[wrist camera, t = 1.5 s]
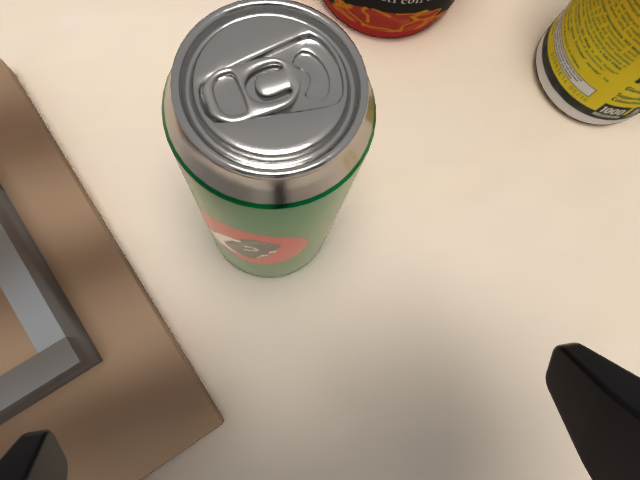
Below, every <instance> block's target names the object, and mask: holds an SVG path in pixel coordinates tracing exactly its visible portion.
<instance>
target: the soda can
mask: <svg viewBox="0 0 640 480" xmlns="http://www.w3.org/2000/svg"><path fill="white" fill-rule="evenodd" d="M162 118H163V126H164V130H165V134H166V137H167V141H168V143H169V145H170V147H171V149H172V152H173V154H174V156H175V158H176V160H177V162H178V164H179V166H180V169H181V171H182V173H183V175H184V177H185V179H186V181H187V183H188V185H189V188H190V190H191V192H192V194H193V196H194V198H195V200H196V202H197V204H198V207H199V209H200V211H201V213H202V215H203V217H204V219H205V221H206V223H207V226H208V228H209V230H210V232H211V234H212V236H213V238H214V240H215V242H216V245H217V247H218V248H219V250H220V251H221V253H222V254H223V255H224V256H225V258H226V259H227V260H228V261H229V262H231V263H232V264H233V265H234V266H236V267H237V268H239V269H241V270H243V271H245V272H247V273H250V274H253V275H257V276H263V277H276V276H283V275H286V274H290V273H292V272H294V271H296V270H299V269H300V268H302V267H303V266H305V265H306V264H307V263H309V262H310V261H311V260H312V259H313V258H314V257H315V255H316V254H317V253H318V251H319V250H320V248H321V246H322V244H323V242H324V240H325V238H326V236H327V234H328V232H329V230H330V228H331V226H332V224H333V222H334V220H335V218H336V216H337V214H338V212H339V210H340V208H341V206H342V204H343V202H344V200H345V198H346V195H347V193H348V191H349V189H350V187H351V185H352V183H353V181H354V179H355V177H356V175H357V173H358V171H359V169H360V167H361V165H362V163H363V161H364V159H365V157H366V155H367V153H368V150H369V148H370V145H371V142H372V139H373V136H374V129H375V123H376V105H375V99H374V93H373V89H372V87H371V84H370V81H369V78H368V76H367V72H366V68H365V65H364V62H363V60H362V57H361V55H360V53H359V51H358V49H357V47H356V46H355V44H354V42H353V41H352V40H351V39H350V37H349V36H348V35H347V33H346V32H345V31H344V30H343V29H342V28H341V27H340V26H339V25H338V24H337V23H336V22H334V21H333V20H331V19H330V18H329V17H327V16H326V15H325V14H323V13H321V12H319V11H317V10H315V9H314V8H312V7H309V6H307V5H304V4H301V3H298V2H295V1H290V0H242V1H237V2H234V3H231V4H229V5H226V6H223V7H221V8H219V9H218V10H216V11H214V12H212V13H210V14H209V15H208V16H206V17H205V18H204V19H202V20H201V21H199V22H198V24H197V25H196V26H195V27H194V28H193V29H192V30H191V31H190V32H189V33H188V35H187V36H186V37H185V39H184V40H183V42H182V43H181V45H180V47H179V49H178V51H177V54H176V56H175V59H174V63H173V66H172V69H171V71H170V73H169V75H168V77H167V80H166V84H165V88H164V91H163V99H162Z"/></svg>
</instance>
